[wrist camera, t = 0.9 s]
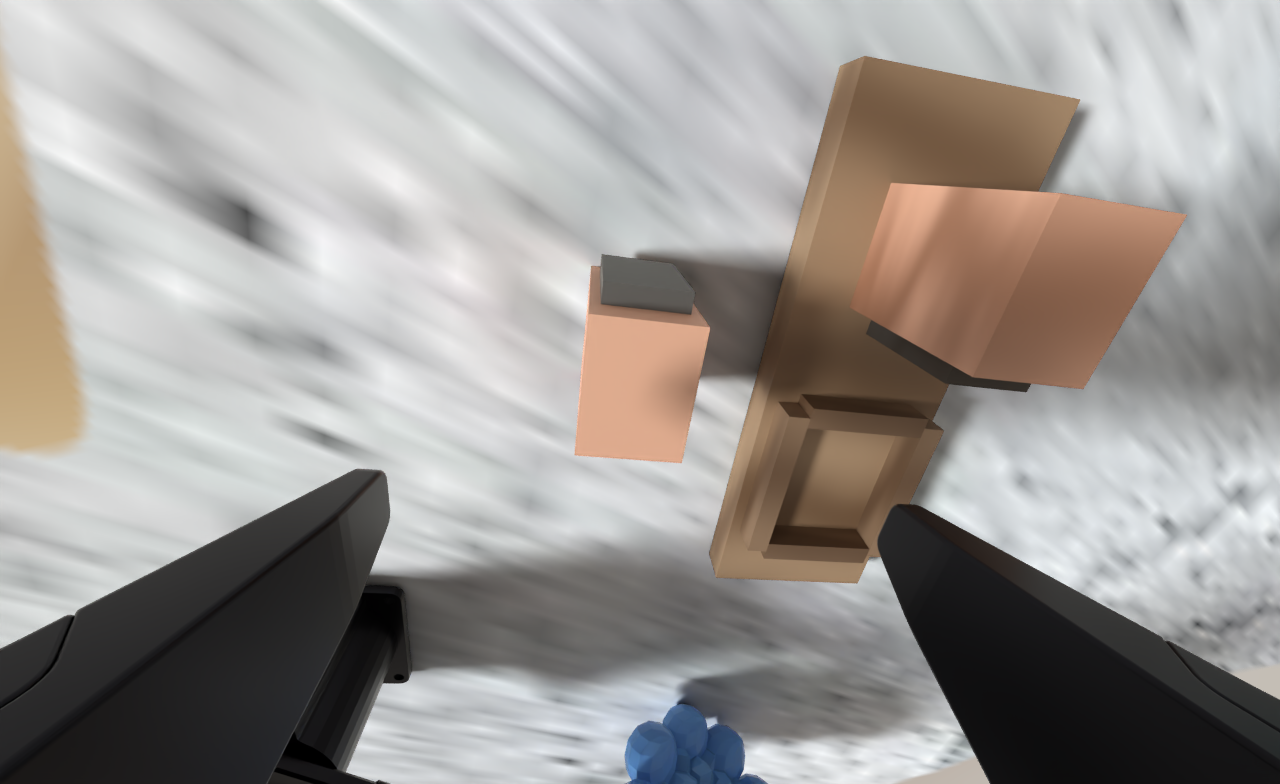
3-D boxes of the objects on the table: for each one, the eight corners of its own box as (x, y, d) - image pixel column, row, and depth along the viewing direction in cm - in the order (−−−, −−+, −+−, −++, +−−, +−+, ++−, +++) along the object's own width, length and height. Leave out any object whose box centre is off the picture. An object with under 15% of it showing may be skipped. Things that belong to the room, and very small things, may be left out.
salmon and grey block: (657, 377, 19) (681, 463, 13) (581, 369, 18) (574, 455, 13) (677, 259, 17) (715, 303, 11) (592, 248, 16) (590, 289, 11)
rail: (842, 559, 24) (938, 715, 17) (709, 553, 23) (755, 714, 16) (1038, 105, 15) (1378, 59, 9) (839, 65, 14) (1050, -20, 8)
